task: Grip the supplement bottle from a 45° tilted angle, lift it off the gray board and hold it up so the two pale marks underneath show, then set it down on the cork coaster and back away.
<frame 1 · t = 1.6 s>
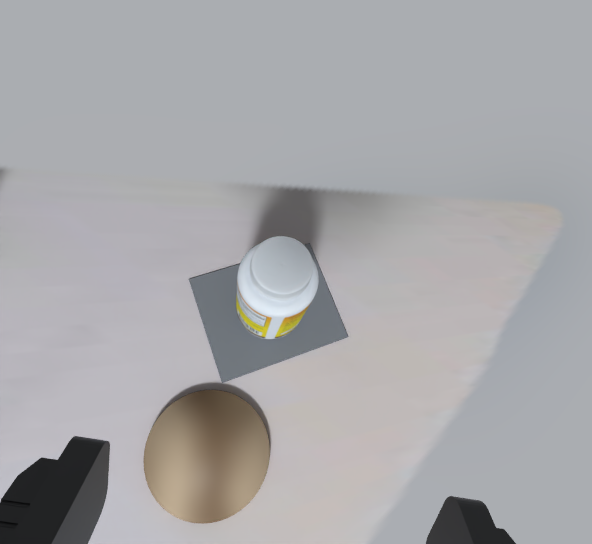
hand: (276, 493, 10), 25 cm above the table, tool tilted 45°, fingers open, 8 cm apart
gray board: (268, 308, 38), on the table
cork coaster: (208, 453, 33), on the table
supplement bottle: (268, 308, 38), resting on gray board
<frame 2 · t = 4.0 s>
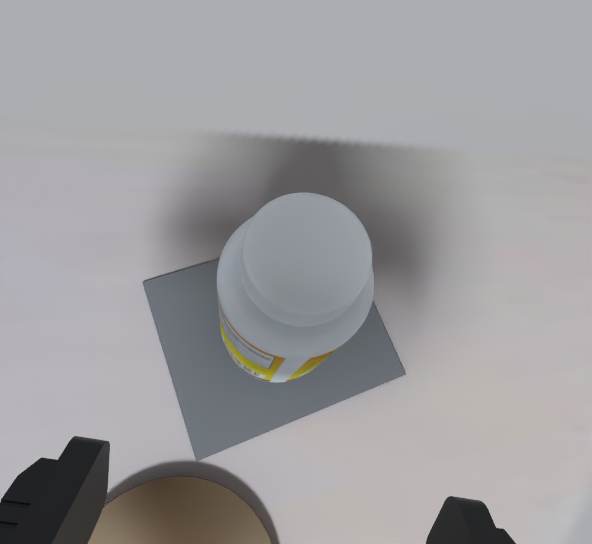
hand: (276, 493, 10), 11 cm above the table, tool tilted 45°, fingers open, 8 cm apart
gray board: (274, 328, 23), on the table
supplement bottle: (274, 329, 23), resting on gray board
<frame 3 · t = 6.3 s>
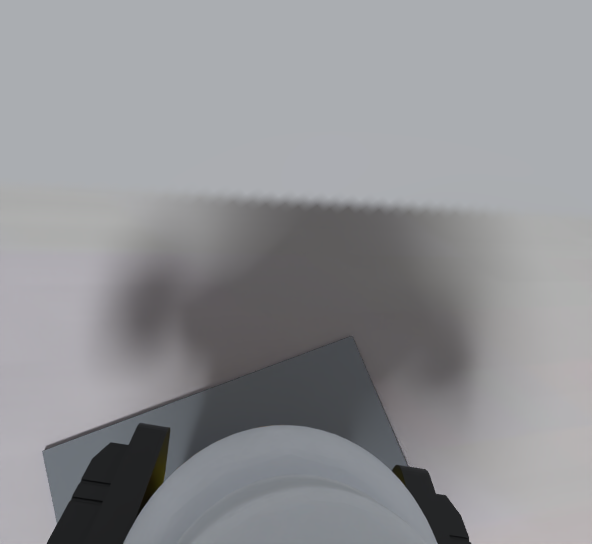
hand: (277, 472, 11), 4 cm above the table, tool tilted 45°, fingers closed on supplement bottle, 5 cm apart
gray board: (254, 523, 14), on the table
supplement bottle: (254, 523, 14), resting on gray board, touching gripper
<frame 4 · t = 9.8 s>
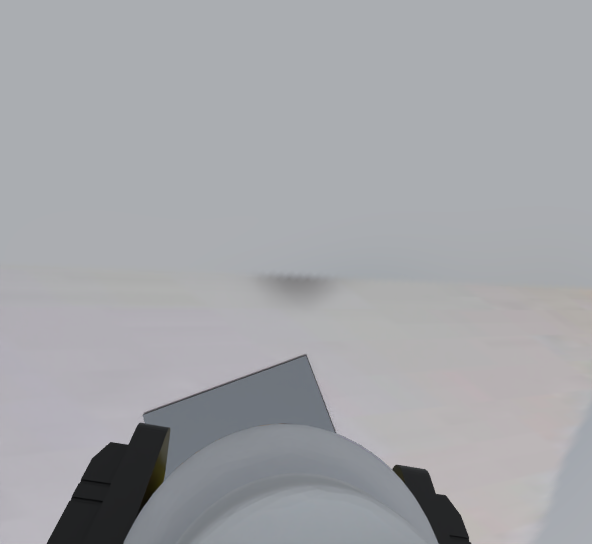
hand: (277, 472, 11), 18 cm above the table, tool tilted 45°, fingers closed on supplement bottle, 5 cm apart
gray board: (250, 453, 28), on the table
supplement bottle: (254, 522, 14), point 14 cm above the table, touching gripper
when the fingers open (6 cm above the table, at t = 13.2 s): supplement bottle drops 1 cm, resting on cork coaster.
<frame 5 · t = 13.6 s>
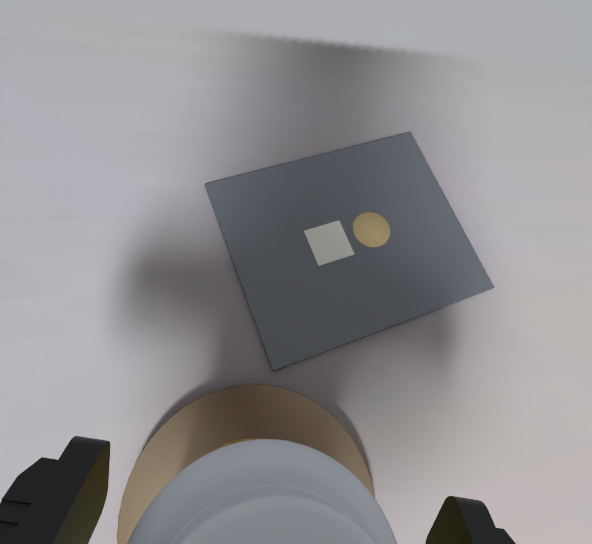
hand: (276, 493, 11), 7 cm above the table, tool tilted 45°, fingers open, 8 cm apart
gray board: (350, 236, 21), on the table
cork coaster: (251, 513, 16), on the table
supplement bottle: (247, 521, 16), resting on cork coaster
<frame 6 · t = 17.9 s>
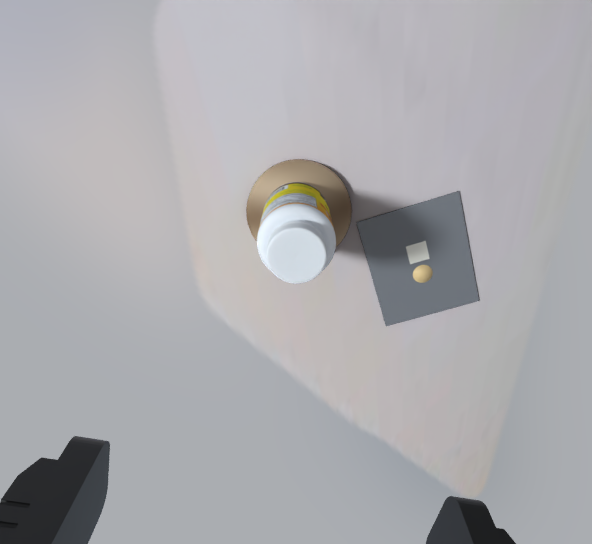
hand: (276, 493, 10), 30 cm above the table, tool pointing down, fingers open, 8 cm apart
gray board: (419, 262, 41), on the table
cork coaster: (298, 211, 39), on the table
supplement bottle: (296, 211, 38), resting on cork coaster
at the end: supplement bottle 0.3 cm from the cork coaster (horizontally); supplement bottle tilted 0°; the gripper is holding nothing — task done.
